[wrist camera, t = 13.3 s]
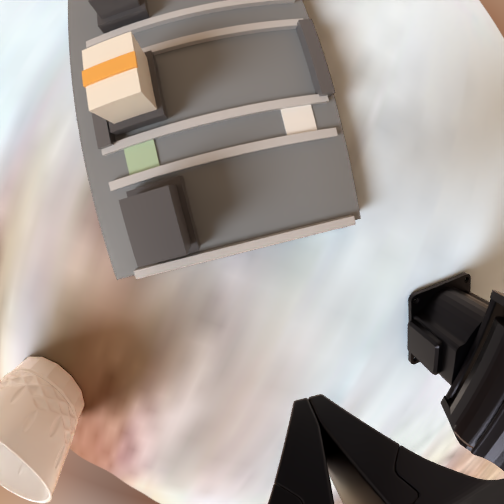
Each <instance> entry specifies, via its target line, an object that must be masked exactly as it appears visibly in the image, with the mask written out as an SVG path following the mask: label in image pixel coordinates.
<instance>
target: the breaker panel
mask: <svg viewBox="0 0 504 504" xmlns="http://www.w3.org/2000/svg"><path fill="white" fill-rule="evenodd" d="M68 32H69V52H70V65H71V76H72V86H73V94H74V102H75V109H76V116H77V123H78V129H79V135H80V140H81V146H82V151H83V156H84V161H85V166H86V171H87V175H88V180H89V184H90V188H91V193H92V197H93V201H94V205H95V209H96V212H97V216H98V220H99V224H100V227H101V231H102V234H103V238H104V241H105V244H106V248H107V251H108V254H109V257H110V260H111V264H112V267H113V270H114V273H115V276H116V279H117V280H118V279H122V278H126V277H130V276H133V275H135V277H136V279H140V278H144V277H148V276H152V275H156V274H160V273H163V272H167V271H171V270H175V269H179V268H183V267H187V266H191V265H195V264H199V263H203V262H207V261H211V260H215V259H219V258H223V257H227V256H231V255H235V254H239V253H243V252H247V251H251V250H255V249H259V248H263V247H267V246H271V245H275V244H279V243H283V242H287V241H291V240H295V239H299V238H303V237H307V236H311V235H315V234H319V233H323V232H327V231H331V230H335V229H339V228H343V227H347V226H351V225H355V220H357V219H361V218H360V212H359V206H358V201H357V195H356V190H355V184H354V179H353V174H352V169H351V164H350V160H349V155H348V150H347V146H346V142H345V137H344V133H343V129H342V125H341V121H340V117H339V113H338V109H337V105H336V102H335V98H334V93H335V90H334V86H333V83H332V80H331V76H330V73H329V70H328V66H327V63H326V60H325V57H324V54H323V51H322V47H321V44H320V42H319V39H318V36H317V33H316V30H315V27H314V24H313V22H312V19H309V17H308V14H307V11H306V9H305V6H304V3H303V1H302V0H68ZM128 32H132V34H133V36H134V37H135V39H136V40H137V42H138V44H139V45H140V47H141V49H142V50H143V52H147V51H150V50H151V51H152V52H153V54H154V56H155V58H156V63H157V68H158V73H159V78H160V83H161V88H162V93H163V98H164V103H165V107H166V112H167V117H168V119H167V120H164V121H160V122H157V123H154V124H151V125H148V126H144V127H141V128H138V129H135V130H132V131H129V132H126V133H123V134H121V135H118V136H117V135H115V134H113V133H110V128H109V122H108V120H106V119H104V118H102V117H100V116H98V115H96V114H94V113H92V112H90V111H89V108H88V101H87V94H86V88H85V87H83V80H82V71H83V70H84V69H83V59H82V50H84V49H87V48H89V47H91V46H94V45H96V44H99V43H101V42H103V41H106V40H109V39H111V38H114V37H116V36H119V35H122V34H125V33H128Z"/></svg>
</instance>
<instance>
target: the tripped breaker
mask: <svg viewBox="0 0 504 504" xmlns="http://www.w3.org/2000/svg"><path fill="white" fill-rule="evenodd" d="M82 59H83V69H84V70H83V71H82V80H83V87H85V88H86V94H87V101H88V108H89V111H90V112H92V113H94V114H96V115H98V116H100V117H102V118H104V119H106V120H108V122H109V128H110V133H113V134H115V135H117V136H118V135H121V134H123V133H126V132H129V131H132V130H135V129H138V128H141V127H144V126H148V125H151V124H154V123H157V122H160V121H164V120H167V119H168V117H167V112H166V107H165V103H164V98H163V93H162V88H161V83H160V78H159V73H158V68H157V63H156V58H155V56H154V54H153V52H152V51H151V50H150V51H147V52H143V50H142V49H141V47H140V45H139V44H138V42H137V40H136V39H135V37H134V36H133V34H132V32H128V33H125V34H122V35H119V36H116V37H114V38H111V39H109V40H106V41H103V42H101V43H99V44H96V45H94V46H91V47H89V48H87V49H84V50H82Z"/></svg>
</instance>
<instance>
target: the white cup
mask: <svg viewBox="0 0 504 504" xmlns="http://www.w3.org/2000/svg"><path fill="white" fill-rule="evenodd" d="M84 405H85V404H84V400H83V396H82V391H81V389H80V388H79V386H78V385H77V383H76V382H75V380H74V379H73V377H72V376H71V375H70V374H69V373H67V372H66V371H65V370H64V369H63V368H62V367H61V366H59V365H58V364H57V363H55V362H52V361H50V360H48V359H46V358H44V357H28V358H26V359H25V360H24V361H23V362H21V363H20V364H19V365H18V366H17V367H16V368H15V369H14V370H13V371H12V372H10V373H7V374H6V375H5V376H4V377H3V378H2V379H1V380H0V485H1V486H3V487H4V488H5V489H7V490H9V491H10V492H12V493H14V494H16V495H18V496H20V497H22V498H24V499H27V500H30V501H33V502H37V503H48V502H50V501H51V499H52V496H53V493H54V490H55V487H56V484H57V481H58V479H59V476H60V473H61V470H62V467H63V464H64V462H65V459H66V456H67V454H68V451H69V449H70V446H71V443H72V440H73V437H74V434H75V432H76V426H77V422H78V420H79V418H80V416H81V413H82V410H83V408H84Z"/></svg>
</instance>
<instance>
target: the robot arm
mask: <svg viewBox="0 0 504 504" xmlns="http://www.w3.org/2000/svg"><path fill="white" fill-rule="evenodd" d="M465 278H466V279H465ZM470 282H471V277H470V275H469V274H467V273H462V274H460V275H458V276H455V277H453V278H450V279H448V280H445V281H443V282H440V283H438V284H435V285H433V286H430V287H428V288H425V289H422V290H420V291H417V292H415V293H412V294H411V295H410V297H409V300H408V307H409V322H408V350H409V355H408V360H409V361H410V362H411V364H416V363H418V362H421V363H422V364H423V365H424V366H425V367H426V368H427V369H428V370H429V371H430V372H431V373H432V374H434V375H436V374H438V373H439V374H440V375H441V376H442V377H443V378H444V379H445V380H446V381H447V382H448V383H449V384H450V385H451V387H450V389H449V391H448V393H447V394H446V396H444V398H443V399H442V401H441V405H442V407H443V409H444V411H445V413H446V416H447V418H448V420H449V422H450V425H451V427H452V429H453V431H454V434H455V436H456V438H457V440H458V441H459V443H460V444H461V445H462V446H464V447H465V448H466V449H468V450H469V451H471V453H472V454H474V455H477V456H480V457H483V458H485V459H487V460H489V461H491V462H492V463H494V464H495V465H497V466H498V467H500V468H501V469H502V470H503V471H504V293H501V292H497V291H494V290H492V293H491V296H490V298H491V300H490V302H488V301H486V300H484V299H482V298H480V297H479V296H477V295H475V294H473V293H471V292H470ZM415 298H416V300H415V301H414V299H415ZM399 446H400V445H399V444H398V443H396V442H395V441H393V440H391V439H390V438H388V437H386V436H385V435H383V434H382V433H380V432H378V431H377V430H375V429H374V428H372V427H371V426H369V425H367V424H366V423H364V422H363V421H361V420H360V419H358V418H357V417H355V416H353V415H352V414H350V413H349V412H347V411H346V410H344V409H343V408H341V407H340V406H338V405H337V404H335V403H334V402H333V401H331V400H330V399H328V398H327V397H325V396H324V395H322V394H319V395H315V396H311V397H309V399H307V398H304V399H300V400H296V401H294V403H293V408H292V412H291V417H290V421H289V426H288V430H287V434H286V438H285V443H284V447H283V451H282V455H281V459H280V463H279V467H278V471H277V474H276V478H275V482H274V483H275V484H274V485H273V489H272V492H271V496H270V499H269V502H268V504H334V500H333V494H332V488H331V482H330V477H331V479H332V481H333V484H334V486H335V488H336V490H337V492H338V494H339V496H340V498H341V500H342V502H343V504H504V479H500V480H483V479H478V478H474V477H471V476H468V475H465V474H462V473H460V472H457V471H454V470H451V469H449V468H446V467H443V466H441V465H438V464H436V463H434V462H431V461H429V460H427V459H425V458H423V457H421V456H419V455H417V454H415V453H413V452H412V451H410V450H408V449H406V448H405V447H403V446H400V447H399ZM329 475H330V477H329Z"/></svg>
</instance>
